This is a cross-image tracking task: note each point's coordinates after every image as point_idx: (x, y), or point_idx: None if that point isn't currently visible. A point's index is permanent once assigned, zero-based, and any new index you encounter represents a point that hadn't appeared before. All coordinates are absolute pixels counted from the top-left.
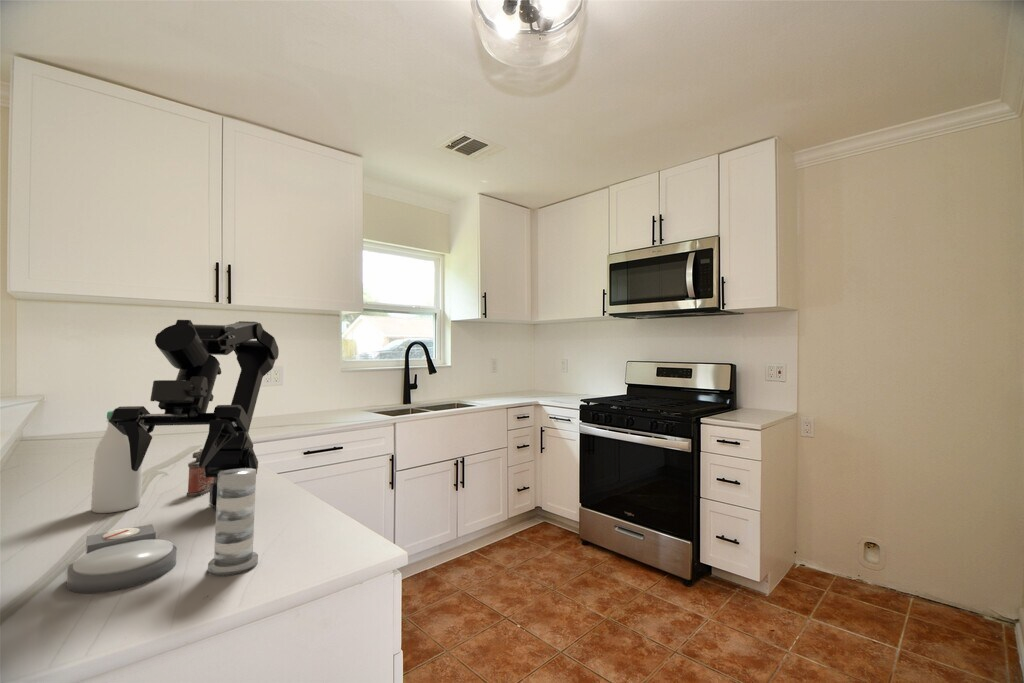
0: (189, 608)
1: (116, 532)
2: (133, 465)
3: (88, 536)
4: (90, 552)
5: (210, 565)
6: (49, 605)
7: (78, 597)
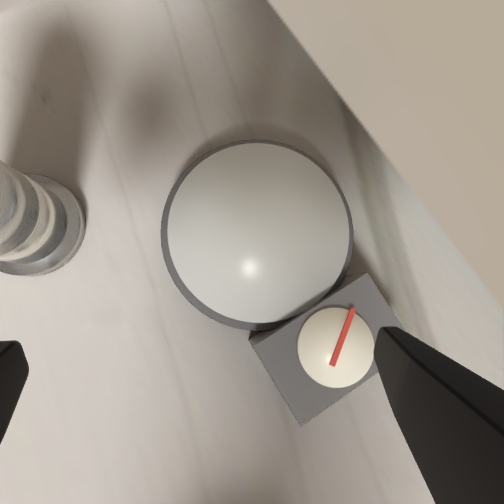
0: (60, 60)
1: (352, 353)
2: (397, 334)
3: None
4: (344, 253)
5: (69, 199)
6: (305, 122)
7: None
